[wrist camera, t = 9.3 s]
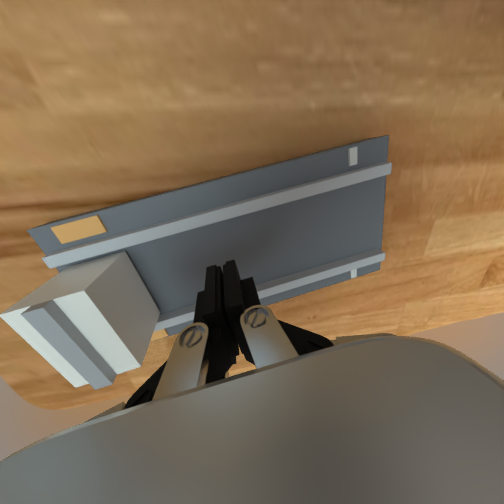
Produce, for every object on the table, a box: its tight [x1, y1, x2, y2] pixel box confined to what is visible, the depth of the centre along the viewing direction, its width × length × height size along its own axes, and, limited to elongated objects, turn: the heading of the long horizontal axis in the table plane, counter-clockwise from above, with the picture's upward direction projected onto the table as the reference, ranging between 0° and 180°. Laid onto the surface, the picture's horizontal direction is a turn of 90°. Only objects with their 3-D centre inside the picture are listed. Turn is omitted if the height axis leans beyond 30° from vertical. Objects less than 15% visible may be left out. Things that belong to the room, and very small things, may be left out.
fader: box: [0, 251, 160, 390], centre depth 13 cm, size 4×6×6 cm, turn 13°
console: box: [27, 135, 392, 342], centre depth 17 cm, size 26×12×3 cm, turn 103°
